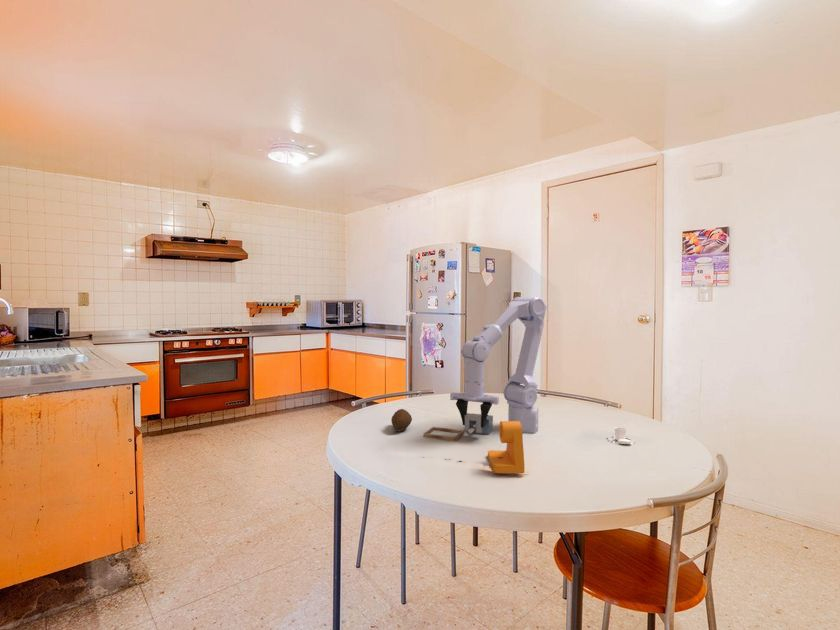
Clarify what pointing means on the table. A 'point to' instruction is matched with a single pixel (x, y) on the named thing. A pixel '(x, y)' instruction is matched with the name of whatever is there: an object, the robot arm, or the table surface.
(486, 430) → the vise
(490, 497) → the table surface
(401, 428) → the potato
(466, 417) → the block
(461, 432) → the tray
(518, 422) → the bracket
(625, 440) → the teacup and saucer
